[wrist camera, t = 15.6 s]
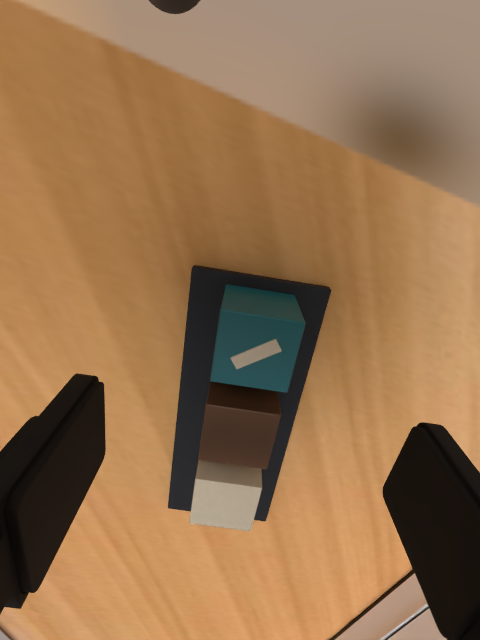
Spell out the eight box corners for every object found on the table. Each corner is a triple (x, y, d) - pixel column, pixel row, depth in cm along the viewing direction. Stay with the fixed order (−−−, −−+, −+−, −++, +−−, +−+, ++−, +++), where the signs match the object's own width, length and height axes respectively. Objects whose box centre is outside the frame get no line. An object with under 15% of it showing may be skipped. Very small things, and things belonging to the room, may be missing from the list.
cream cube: (204, 430, 23) (195, 479, 19) (260, 438, 23) (262, 488, 19) (198, 471, 24) (189, 523, 21) (250, 479, 24) (250, 531, 21)
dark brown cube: (213, 363, 21) (206, 404, 17) (275, 373, 21) (281, 415, 17) (206, 413, 22) (197, 460, 18) (264, 422, 22) (266, 470, 19)
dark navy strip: (193, 264, 19) (191, 267, 18) (329, 286, 19) (331, 290, 18) (169, 501, 27) (167, 508, 26) (265, 514, 27) (265, 521, 26)
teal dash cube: (217, 344, 20) (209, 383, 16) (226, 283, 18) (220, 310, 15) (281, 354, 20) (288, 394, 16) (295, 294, 19) (306, 323, 15)
